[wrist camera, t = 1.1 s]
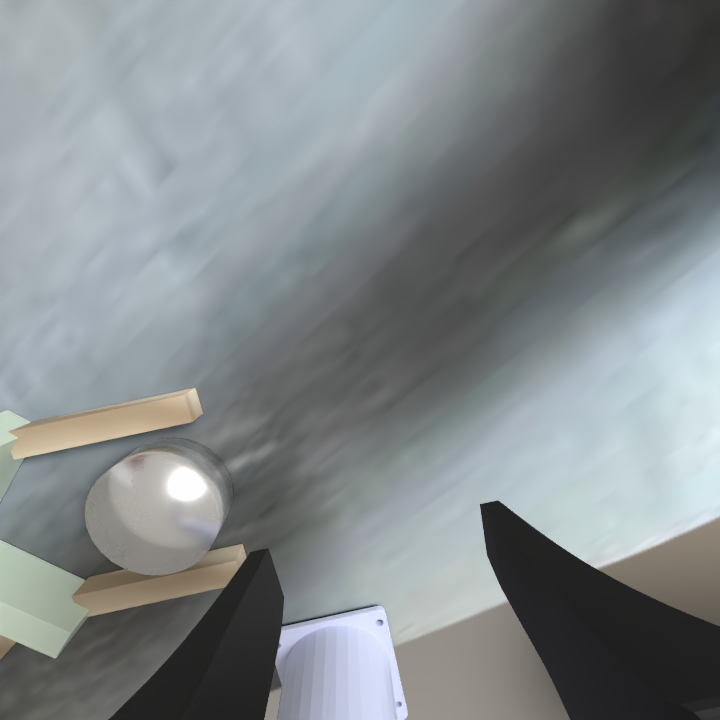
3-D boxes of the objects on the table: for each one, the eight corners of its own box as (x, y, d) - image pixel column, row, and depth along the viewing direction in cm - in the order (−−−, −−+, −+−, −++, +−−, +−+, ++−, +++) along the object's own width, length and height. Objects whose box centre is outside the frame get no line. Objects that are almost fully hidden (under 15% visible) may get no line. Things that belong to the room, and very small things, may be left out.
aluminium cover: (247, 526, 23) (232, 560, 20) (139, 549, 23) (110, 587, 20) (216, 425, 22) (197, 446, 19) (103, 449, 22) (65, 474, 19)
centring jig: (256, 589, 24) (244, 631, 21) (-14, 648, 23) (-65, 699, 20) (185, 356, 21) (159, 366, 18) (-125, 421, 20) (-204, 442, 17)
